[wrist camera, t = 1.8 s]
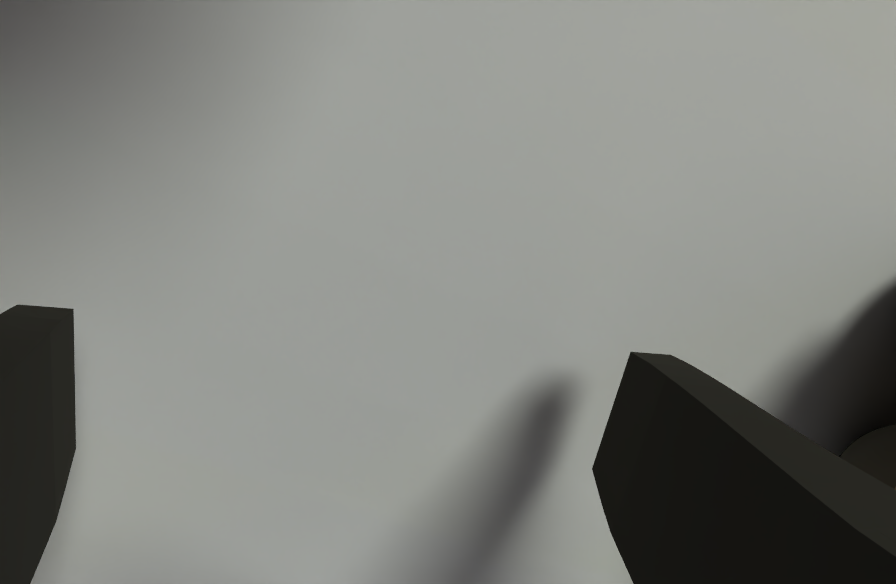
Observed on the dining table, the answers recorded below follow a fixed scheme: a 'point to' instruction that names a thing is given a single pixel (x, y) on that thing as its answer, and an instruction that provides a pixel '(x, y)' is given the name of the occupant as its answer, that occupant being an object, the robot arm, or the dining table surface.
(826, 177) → the dining table surface
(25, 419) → the robot arm
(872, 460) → the trolley
